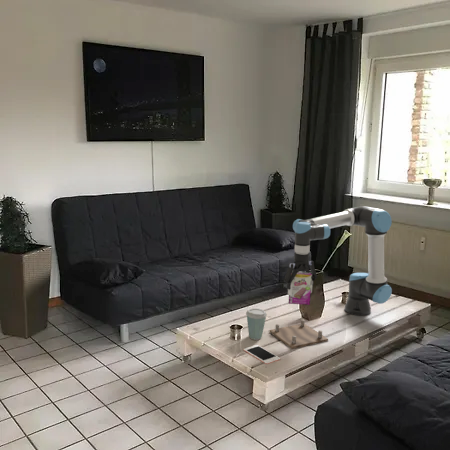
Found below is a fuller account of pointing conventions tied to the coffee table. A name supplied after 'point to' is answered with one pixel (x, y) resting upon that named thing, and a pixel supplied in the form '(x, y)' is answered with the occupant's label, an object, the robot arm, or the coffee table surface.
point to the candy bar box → (301, 288)
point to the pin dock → (298, 335)
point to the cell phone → (261, 354)
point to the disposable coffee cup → (256, 322)
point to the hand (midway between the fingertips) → (299, 293)
